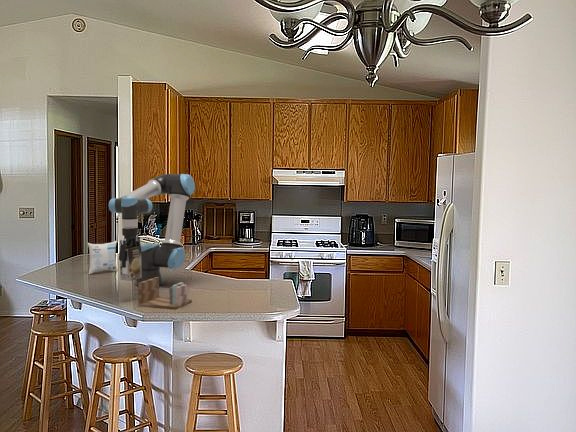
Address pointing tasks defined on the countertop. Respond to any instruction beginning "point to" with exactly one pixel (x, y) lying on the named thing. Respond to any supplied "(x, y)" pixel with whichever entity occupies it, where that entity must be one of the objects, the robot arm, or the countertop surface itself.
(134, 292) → the countertop surface
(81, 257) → the countertop surface
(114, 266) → the pouch
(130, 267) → the coffee box
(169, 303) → the shelf
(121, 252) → the robot arm
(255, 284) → the countertop surface
